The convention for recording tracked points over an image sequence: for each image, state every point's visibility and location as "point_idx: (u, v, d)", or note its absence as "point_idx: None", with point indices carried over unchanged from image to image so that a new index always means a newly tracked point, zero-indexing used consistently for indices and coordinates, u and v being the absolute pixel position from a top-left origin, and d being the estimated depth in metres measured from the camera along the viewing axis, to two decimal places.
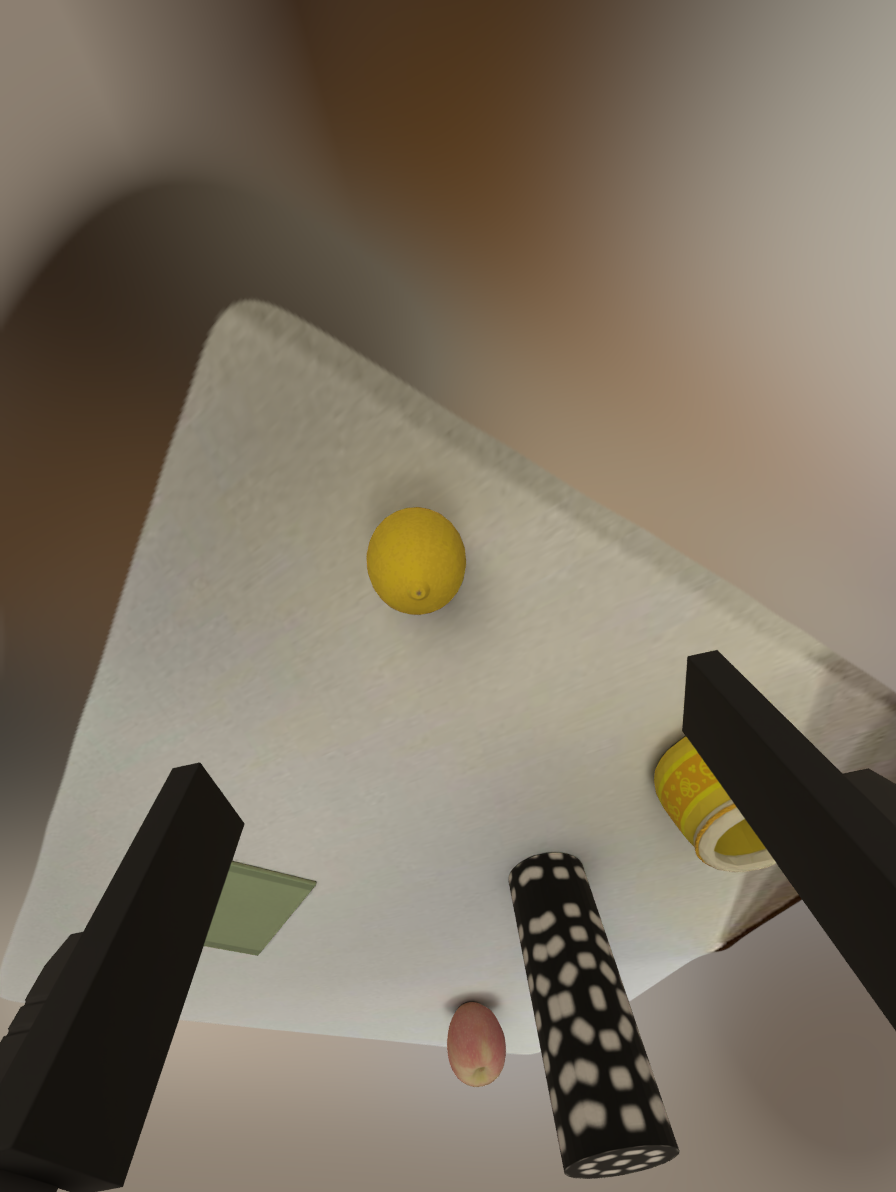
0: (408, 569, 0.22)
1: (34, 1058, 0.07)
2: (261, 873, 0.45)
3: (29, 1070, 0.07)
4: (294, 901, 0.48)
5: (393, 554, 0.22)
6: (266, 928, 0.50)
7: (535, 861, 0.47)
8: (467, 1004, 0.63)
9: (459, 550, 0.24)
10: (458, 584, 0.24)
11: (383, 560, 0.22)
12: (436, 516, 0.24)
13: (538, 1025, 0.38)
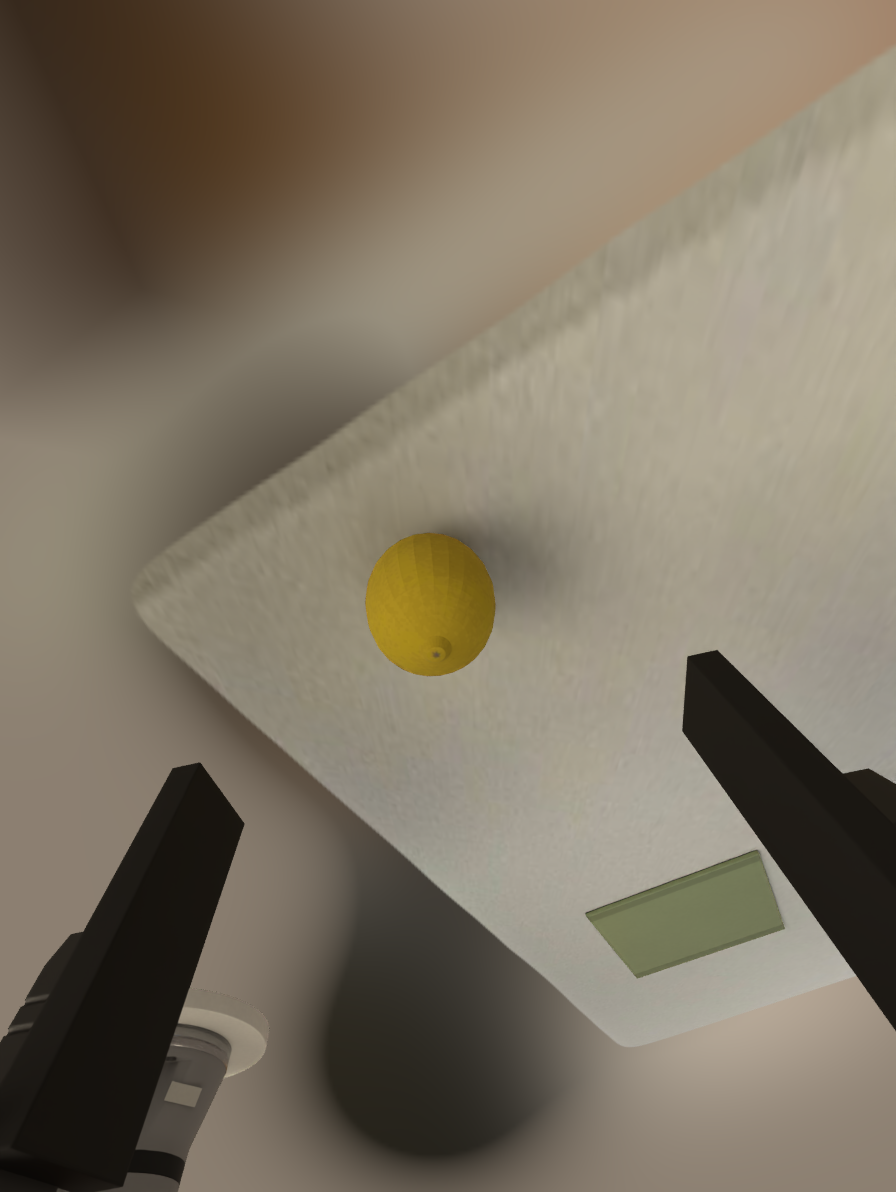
0: (404, 644, 0.16)
1: (34, 1059, 0.07)
2: (695, 878, 0.40)
3: (29, 1071, 0.07)
4: (758, 876, 0.40)
5: (384, 643, 0.17)
6: (763, 908, 0.43)
7: None
8: None
9: (433, 563, 0.17)
10: (470, 591, 0.17)
11: (387, 655, 0.18)
12: (388, 556, 0.18)
13: None
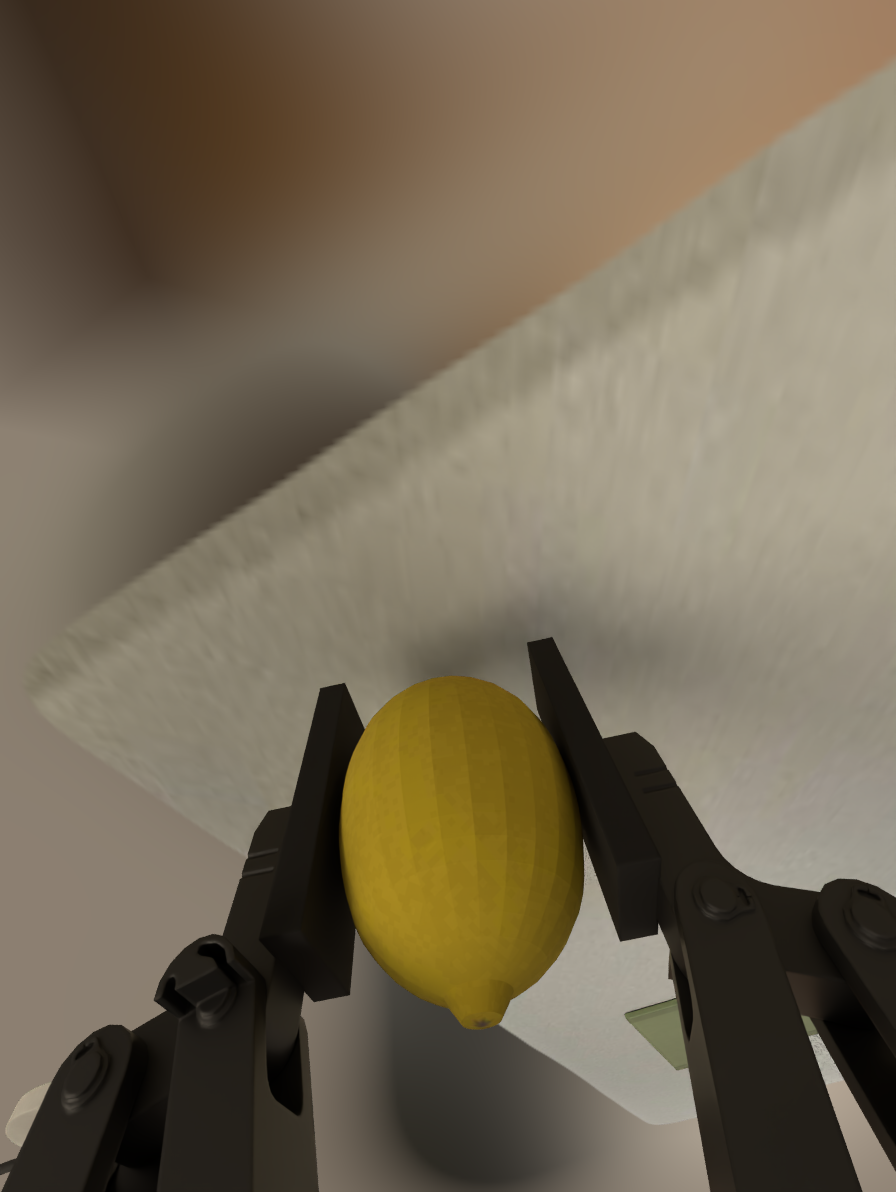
0: (413, 981, 0.08)
1: (290, 879, 0.09)
2: None
3: (290, 886, 0.08)
4: None
5: (370, 952, 0.08)
6: None
7: None
8: None
9: (472, 795, 0.08)
10: (550, 859, 0.08)
11: None
12: (381, 748, 0.10)
13: None
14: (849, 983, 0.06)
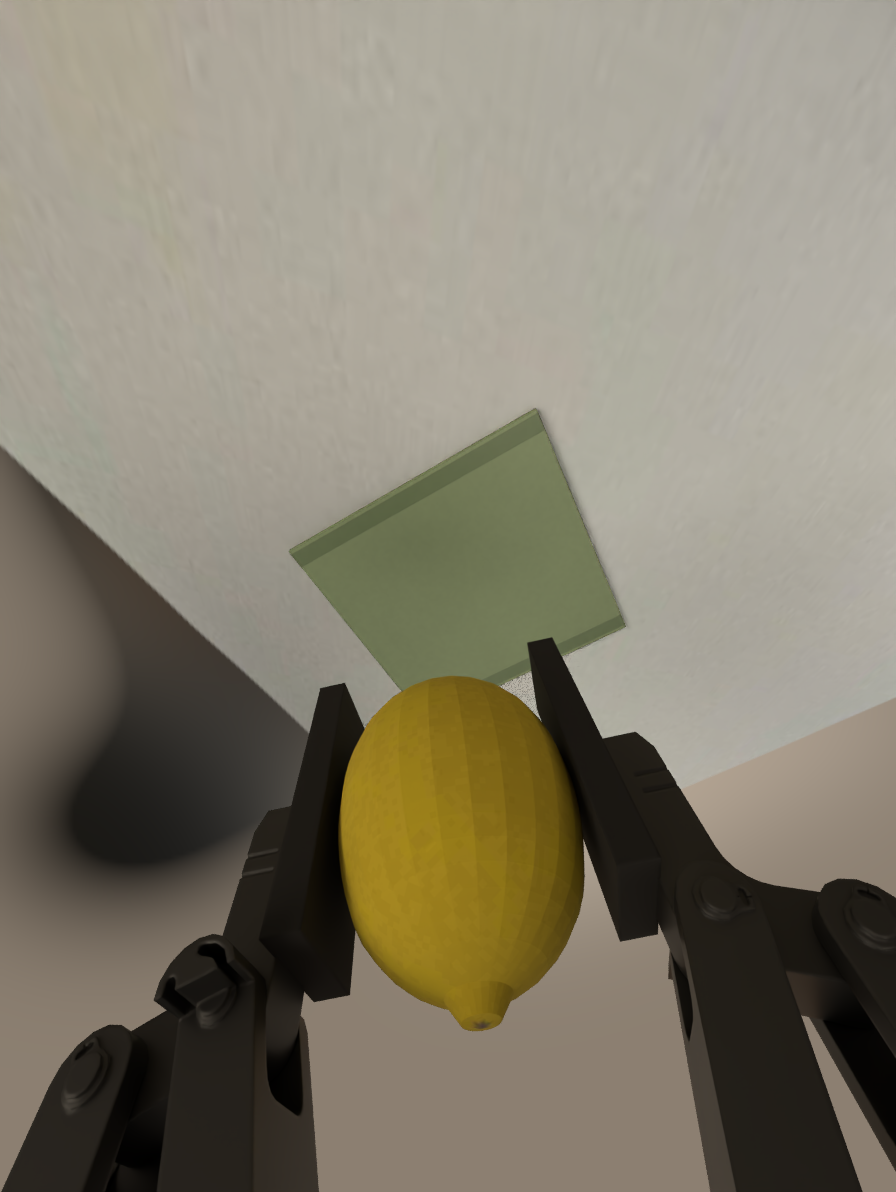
0: (412, 983, 0.08)
1: (290, 879, 0.09)
2: (444, 467, 0.25)
3: (290, 886, 0.08)
4: (550, 478, 0.26)
5: (369, 953, 0.08)
6: (578, 567, 0.28)
7: None
8: None
9: (472, 796, 0.08)
10: (550, 860, 0.08)
11: None
12: (381, 749, 0.10)
13: None
14: (849, 983, 0.06)
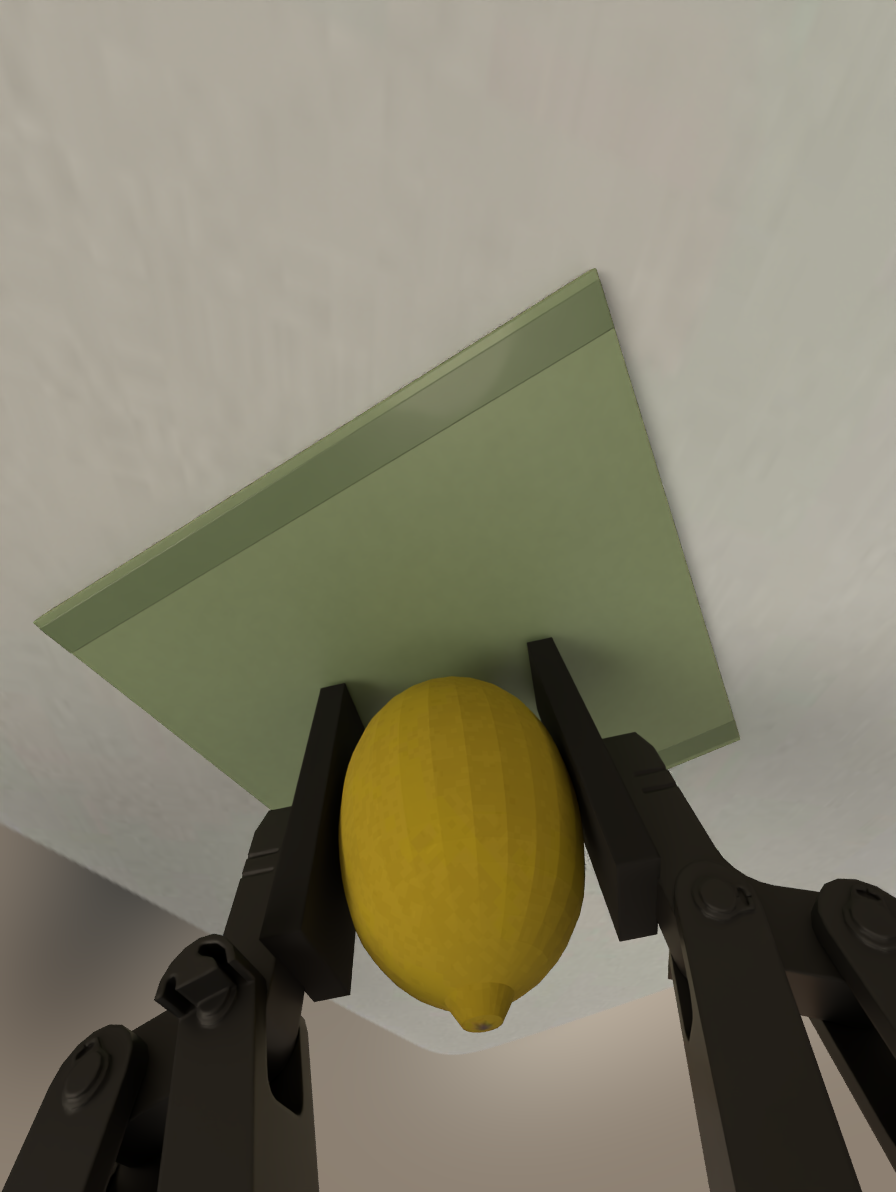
0: (412, 984, 0.08)
1: (291, 879, 0.09)
2: (366, 425, 0.10)
3: (291, 886, 0.08)
4: (619, 453, 0.11)
5: (370, 955, 0.08)
6: (664, 640, 0.14)
7: None
8: None
9: (472, 797, 0.08)
10: (551, 862, 0.08)
11: None
12: (381, 750, 0.10)
13: None
14: (848, 983, 0.06)
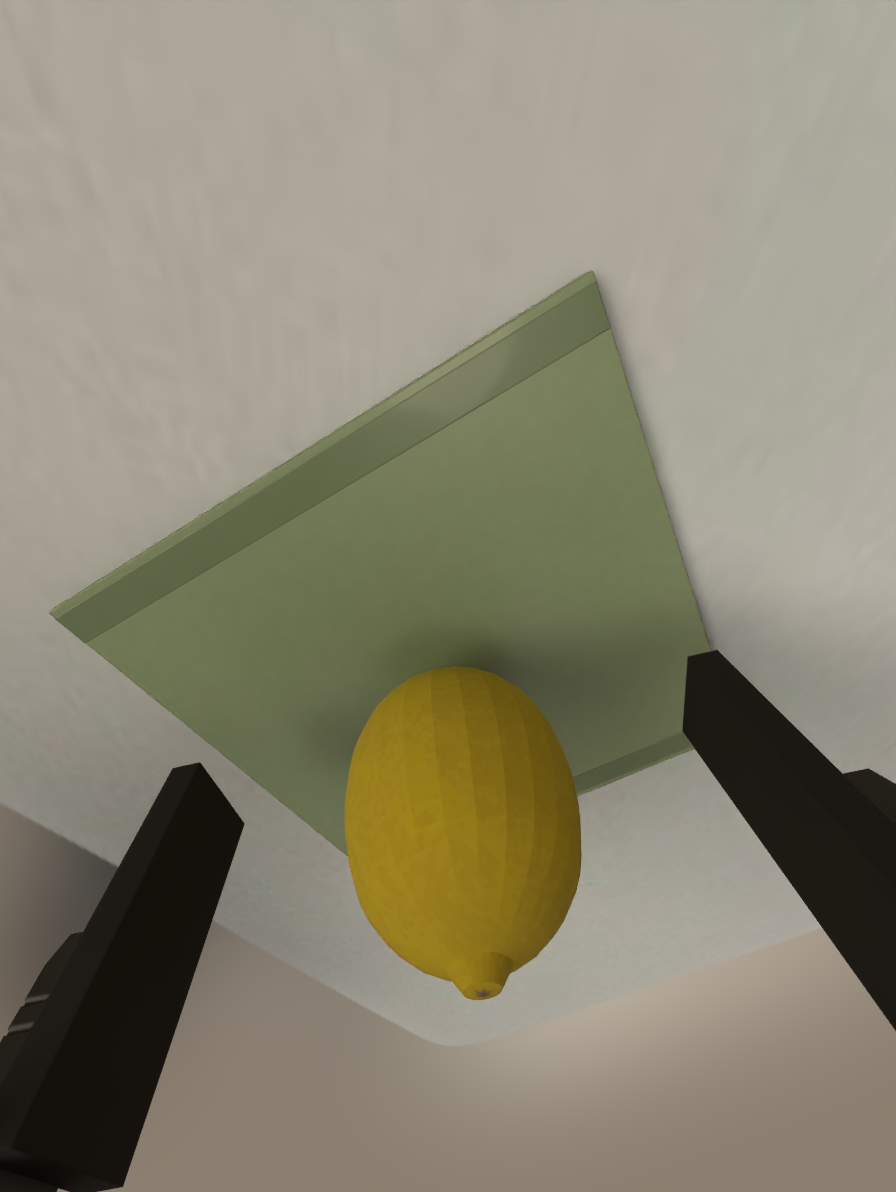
0: (416, 955, 0.08)
1: (34, 1058, 0.07)
2: (371, 422, 0.11)
3: (29, 1070, 0.07)
4: (616, 449, 0.11)
5: (375, 929, 0.09)
6: (661, 632, 0.14)
7: None
8: None
9: (473, 778, 0.09)
10: (549, 839, 0.08)
11: None
12: (386, 735, 0.10)
13: None
14: None
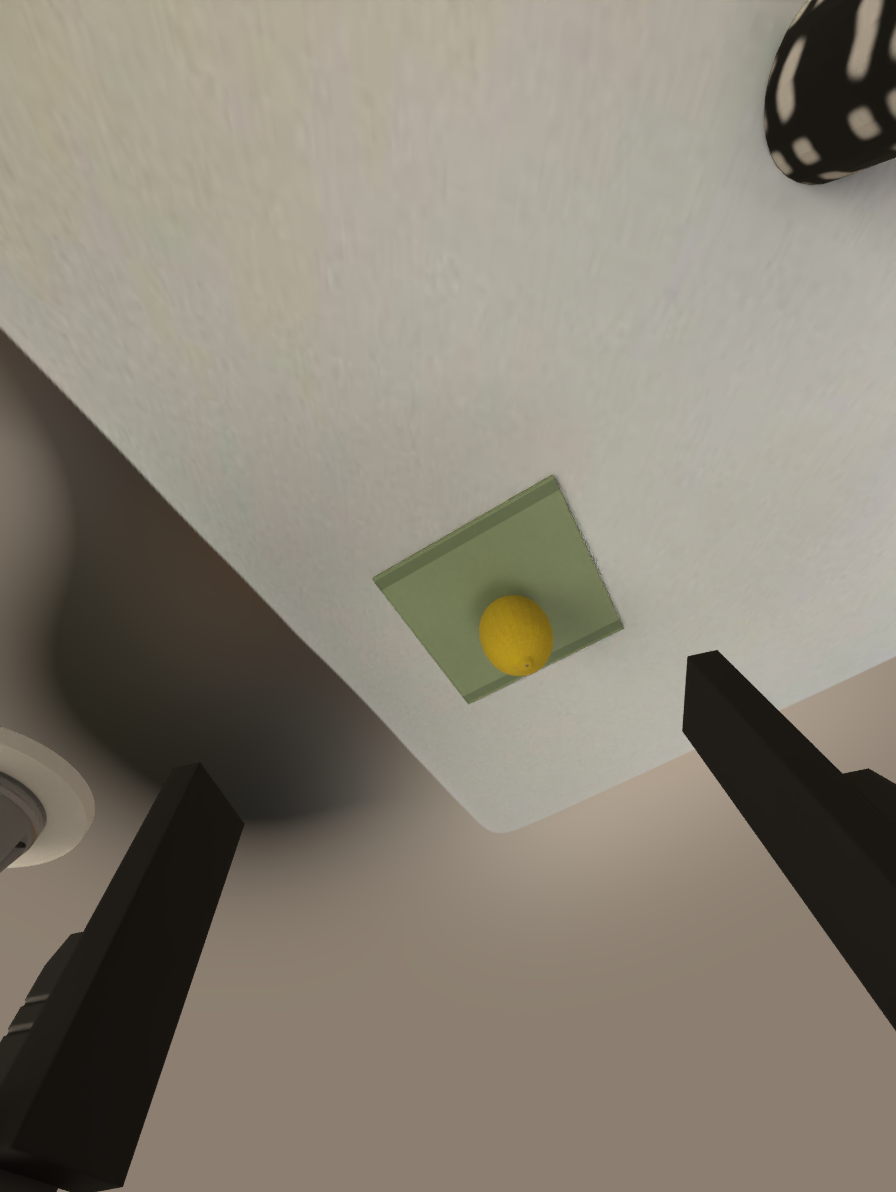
0: (509, 660, 0.32)
1: (34, 1059, 0.07)
2: (487, 517, 0.34)
3: (29, 1071, 0.07)
4: (564, 522, 0.35)
5: (496, 659, 0.32)
6: (586, 585, 0.38)
7: (778, 66, 0.23)
8: None
9: (522, 617, 0.32)
10: (543, 632, 0.32)
11: (496, 665, 0.33)
12: (495, 611, 0.34)
13: None
14: None
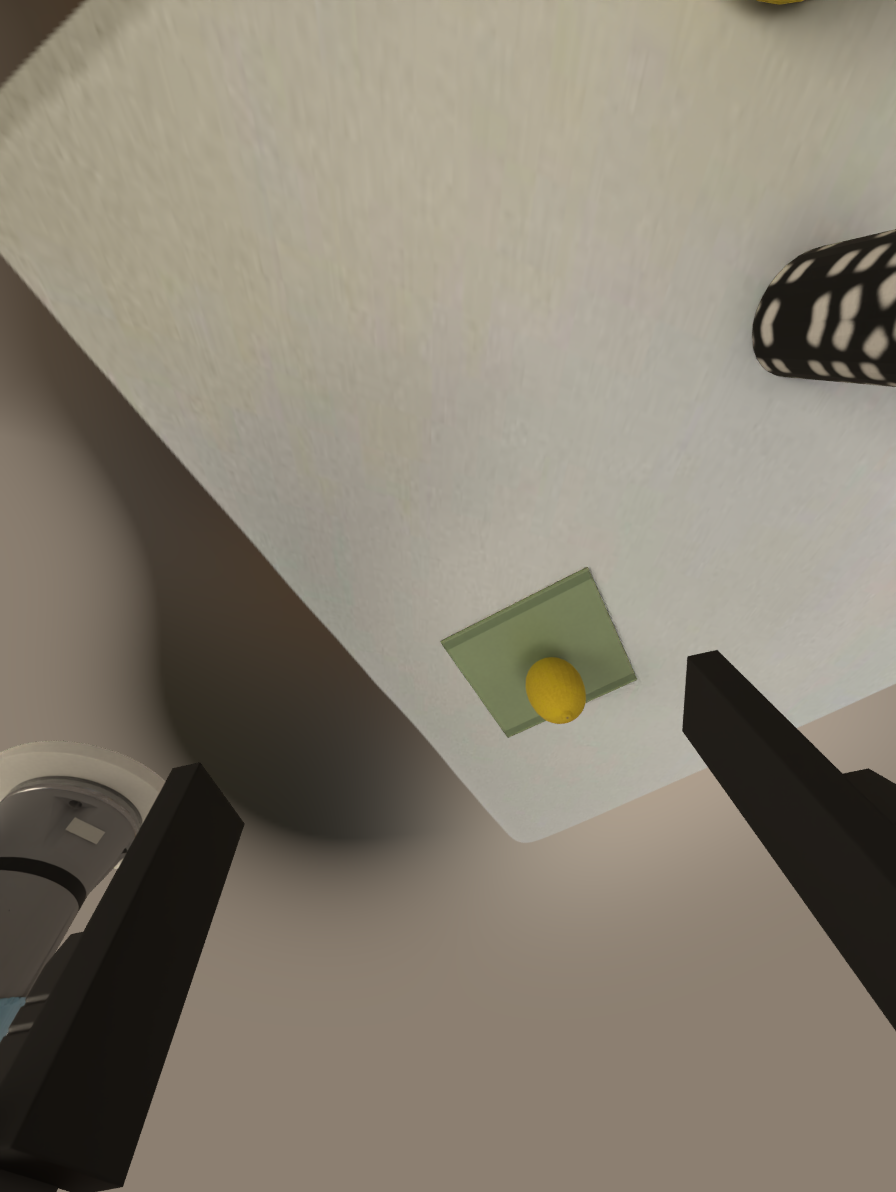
0: (553, 713, 0.41)
1: (34, 1058, 0.07)
2: (534, 597, 0.44)
3: (29, 1071, 0.07)
4: (594, 601, 0.44)
5: (542, 711, 0.42)
6: (609, 647, 0.47)
7: (762, 309, 0.33)
8: None
9: (563, 679, 0.42)
10: (579, 691, 0.41)
11: (542, 715, 0.42)
12: (540, 672, 0.43)
13: None
14: None
